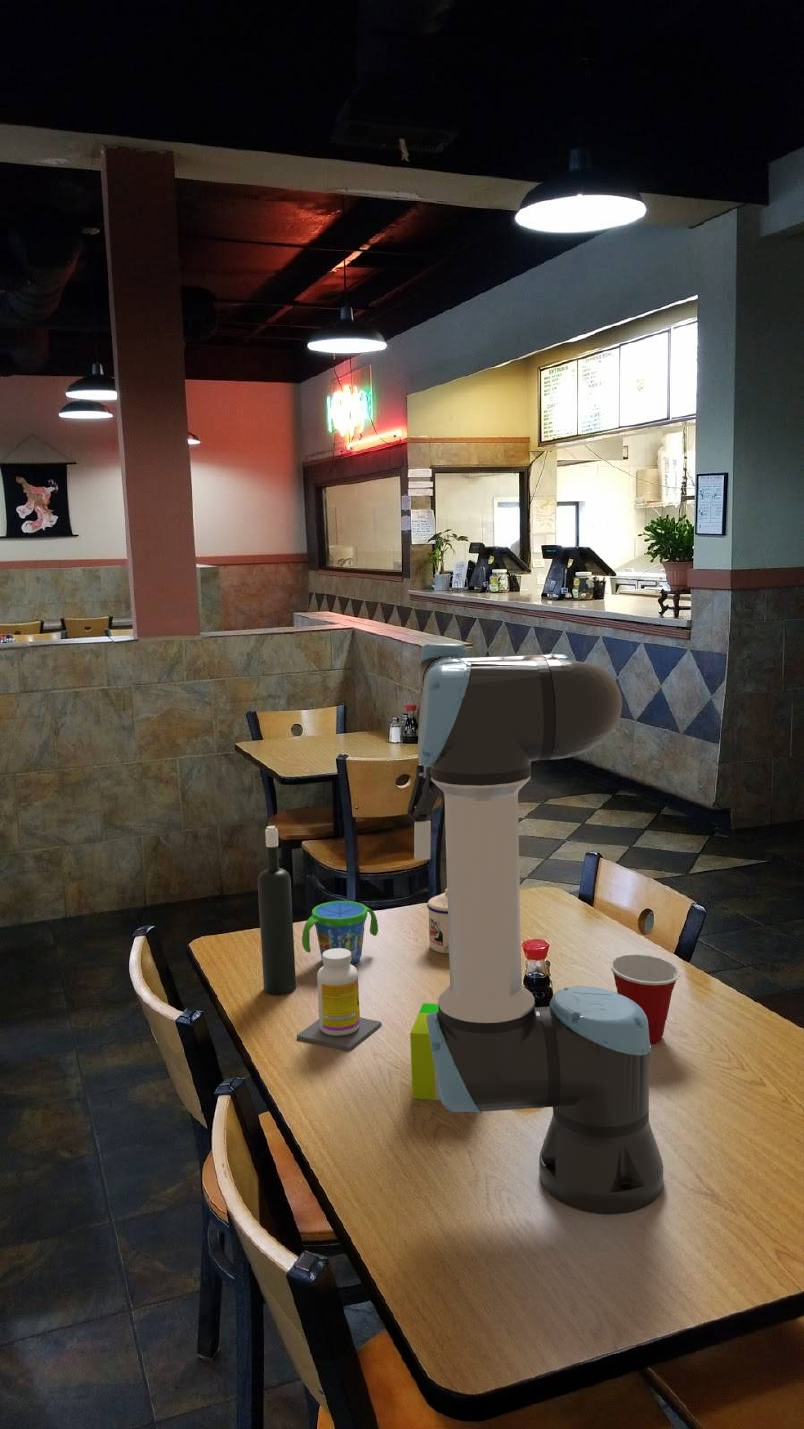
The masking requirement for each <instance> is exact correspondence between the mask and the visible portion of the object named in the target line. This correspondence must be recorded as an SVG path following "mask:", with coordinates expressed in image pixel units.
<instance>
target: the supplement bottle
mask: <svg viewBox="0 0 804 1429" xmlns="http://www.w3.org/2000/svg"><path fill="white" fill-rule="evenodd" d="M321 959H322V963H323V966H321V967H320V968H319V969H318V971H317V975H316V980H317V1001H318V1002H317V1003H318V1005H317V1006H318V1020H319V1026H320V1029H321V1031H322V1032H324V1033H325V1034H328V1035H332V1036H343V1035H348V1034H351V1033H353V1032H355V1031H356V1030H357V1029H358V1028H359V1026H360V1017H361V1014H360V1013H361V1012H360V1011H361V1010H360V993H359V992H360V990H359V989H360V988H359V973H358V970H357V968H356V967H355V966H354V965H353V964H350V962H351V952H350V951H349V950H347V949H342V948H334V949H329V950H326V951H325V952H323V954H322V957H321Z"/></svg>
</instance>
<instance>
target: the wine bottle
mask: <svg viewBox="0 0 804 1429" xmlns="http://www.w3.org/2000/svg"><path fill="white" fill-rule="evenodd" d="M264 834H265V835H264V836H265V847H266V856H267V857H266V858H267V869H264V870H262V871H261V872H260V873H259V875H258V877H257V892H258V906H259V907H258V909H259V910H258V912H259V926H260V928H259V929H260V944H261V945H260V946H261V962H262V963H261V964H262V977H263V979H262V981H263V982H262V983H263V991H264V993H265V994H268V995H271V996H284V995H289V994H291V993H293V992H294V991H296V988H297V982H296V981H297V980H296V979H297V977H296V976H297V975H296V961H295V960H296V959H295V957H296V956H295V942H294V941H295V938H294V923H293V922H294V920H293V901H292V882H291V881H292V880H291V876H290V873H289V871H287V870H286V869H284V868H281V867H280V862H279V860H280V859H279V833H278V828H276V825H269V826H268V825H267V826H266V829H265V831H264Z"/></svg>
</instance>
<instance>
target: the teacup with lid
mask: <svg viewBox="0 0 804 1429" xmlns="http://www.w3.org/2000/svg"><path fill="white" fill-rule="evenodd" d="M426 906H427V909H428V934H429V935H428V936H429V938H428V939H429V947H430V949H431V950H433V951H435V952H437V953H440V954H448V955H449V930H448V896H447V888H445V890H444V892H443V893H441V894H439V895H438V894H437V895H436V896H433V897H431V898H430V899H429V900H428V901H427V904H426Z"/></svg>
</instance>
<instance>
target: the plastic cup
mask: <svg viewBox="0 0 804 1429" xmlns="http://www.w3.org/2000/svg"><path fill="white" fill-rule="evenodd" d="M609 964H610V970H611V971H612V973H613V978H614V985H615V987H616V993H618V994H620V995H623V996H625V997H627V998H629V999H631V1000H632V1001H634V1002H635V1003H636V1004H638V1005H639V1006H640V1007H641V1008H642V1010H643V1011H644V1013H645V1014H646V1017H647V1020H648V1028H649V1040H650V1044H651V1046H652V1045H656V1044H659V1043H660V1042H661V1041H662V1040H663V1036H664V1032H665V1028H666V1027H665V1026H666V1023H667V1018H668V1015H669V1014H668V1013H669V1009H670V1004H671V999H672V994H673V991H674V988H675V984H676V983H677V981H678V979H679V978H680V977H681V975H682V974H681V970H680V968H679V967H678V966H677V965H676V964H674V963H673V962H671V961H668V960H667V959H664V958H662V957H658V956H653V955H650V954H640V953H639V954H638V953H631V954H628V953H627V954H622V955H619V956H616V957H613V959H611V961H610V962H609Z"/></svg>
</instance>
